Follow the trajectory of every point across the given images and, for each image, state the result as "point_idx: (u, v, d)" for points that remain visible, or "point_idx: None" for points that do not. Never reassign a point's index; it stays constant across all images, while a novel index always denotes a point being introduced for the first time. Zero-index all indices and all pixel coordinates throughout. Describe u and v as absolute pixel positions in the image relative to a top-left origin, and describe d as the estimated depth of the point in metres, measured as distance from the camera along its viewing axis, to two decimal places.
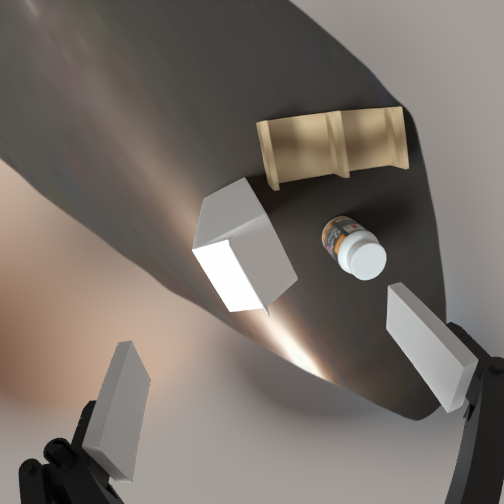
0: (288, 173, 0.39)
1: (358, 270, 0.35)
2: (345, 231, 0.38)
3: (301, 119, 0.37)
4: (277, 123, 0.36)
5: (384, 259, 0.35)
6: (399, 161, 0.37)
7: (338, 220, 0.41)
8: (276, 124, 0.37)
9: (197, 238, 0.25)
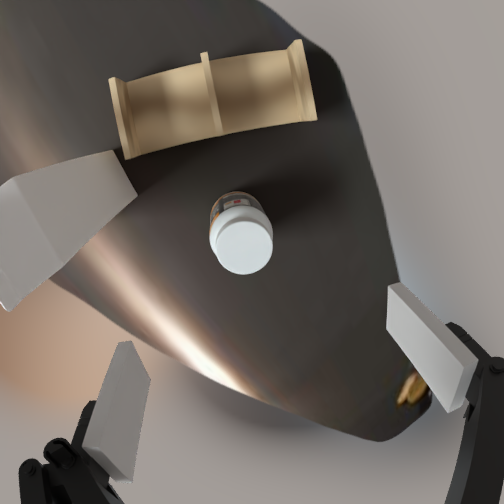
0: (158, 140, 0.30)
1: (228, 260, 0.26)
2: (222, 208, 0.29)
3: (172, 73, 0.27)
4: (143, 82, 0.27)
5: (269, 245, 0.26)
6: (305, 112, 0.28)
7: (227, 195, 0.32)
8: (143, 83, 0.27)
9: None
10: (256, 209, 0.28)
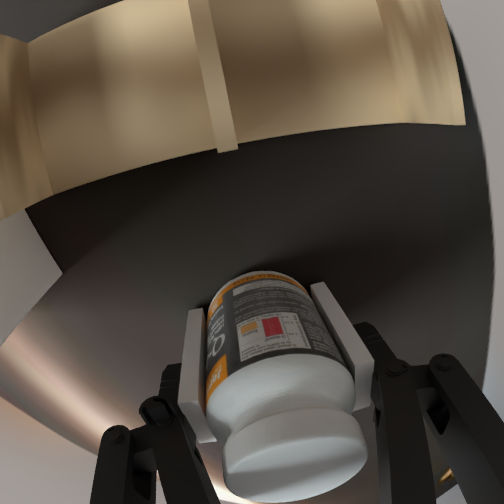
0: (84, 160, 0.12)
1: (257, 493, 0.08)
2: (235, 345, 0.11)
3: (118, 10, 0.10)
4: (58, 36, 0.10)
5: (360, 461, 0.08)
6: (432, 103, 0.10)
7: (242, 287, 0.14)
8: (57, 38, 0.10)
9: None
10: (327, 361, 0.10)
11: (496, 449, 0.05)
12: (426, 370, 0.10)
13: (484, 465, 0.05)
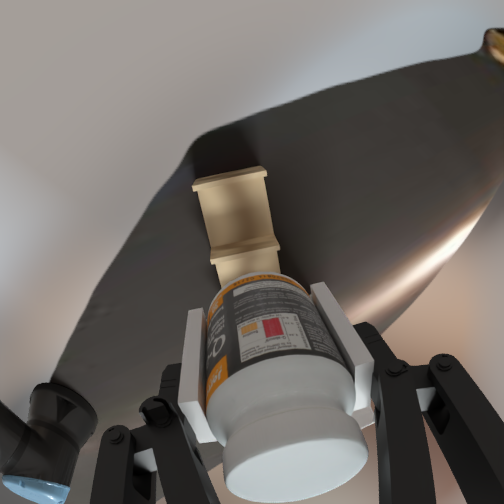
0: None
1: (258, 493, 0.08)
2: (235, 346, 0.11)
3: (221, 273, 0.41)
4: None
5: (360, 462, 0.08)
6: None
7: (242, 288, 0.14)
8: None
9: None
10: (327, 362, 0.10)
11: (496, 449, 0.05)
12: (426, 370, 0.10)
13: (483, 465, 0.05)
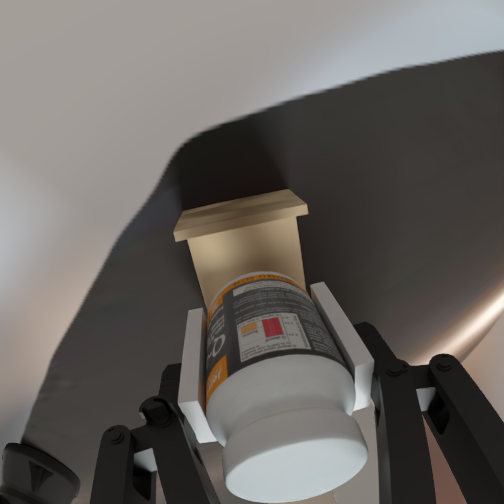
0: None
1: (257, 493, 0.08)
2: (235, 346, 0.11)
3: None
4: None
5: (360, 462, 0.08)
6: None
7: (242, 288, 0.14)
8: None
9: None
10: (327, 362, 0.10)
11: (496, 449, 0.05)
12: (426, 370, 0.10)
13: (484, 465, 0.05)
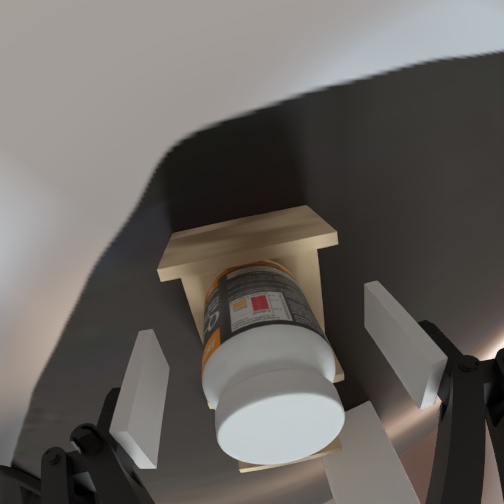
0: None
1: (247, 451, 0.10)
2: (227, 319, 0.13)
3: None
4: None
5: (337, 422, 0.10)
6: None
7: (235, 272, 0.16)
8: None
9: None
10: (306, 331, 0.12)
11: None
12: (492, 361, 0.09)
13: None
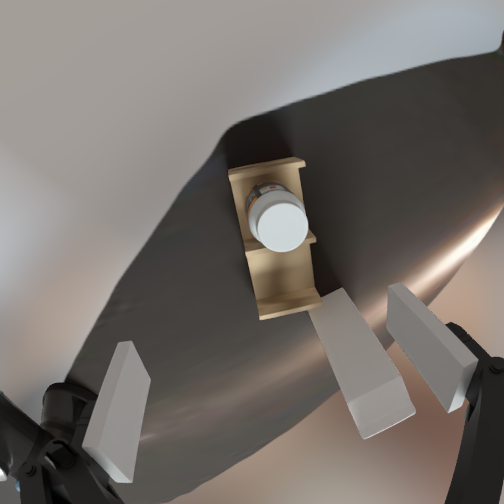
0: (305, 274, 0.41)
1: (268, 239, 0.28)
2: (259, 193, 0.31)
3: (252, 266, 0.40)
4: (257, 287, 0.41)
5: (305, 225, 0.28)
6: None
7: (260, 183, 0.35)
8: (258, 287, 0.41)
9: None
10: (291, 193, 0.30)
11: None
12: None
13: None
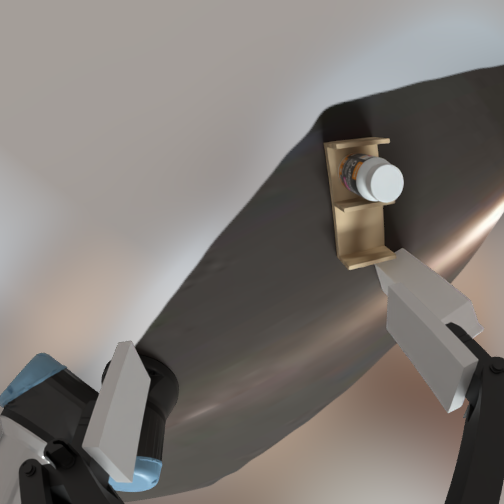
0: (378, 234, 0.47)
1: (378, 191, 0.34)
2: (361, 159, 0.37)
3: (339, 225, 0.46)
4: (341, 244, 0.47)
5: (401, 182, 0.34)
6: None
7: (353, 154, 0.41)
8: (342, 244, 0.47)
9: None
10: (386, 160, 0.36)
11: None
12: None
13: None
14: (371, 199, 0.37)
